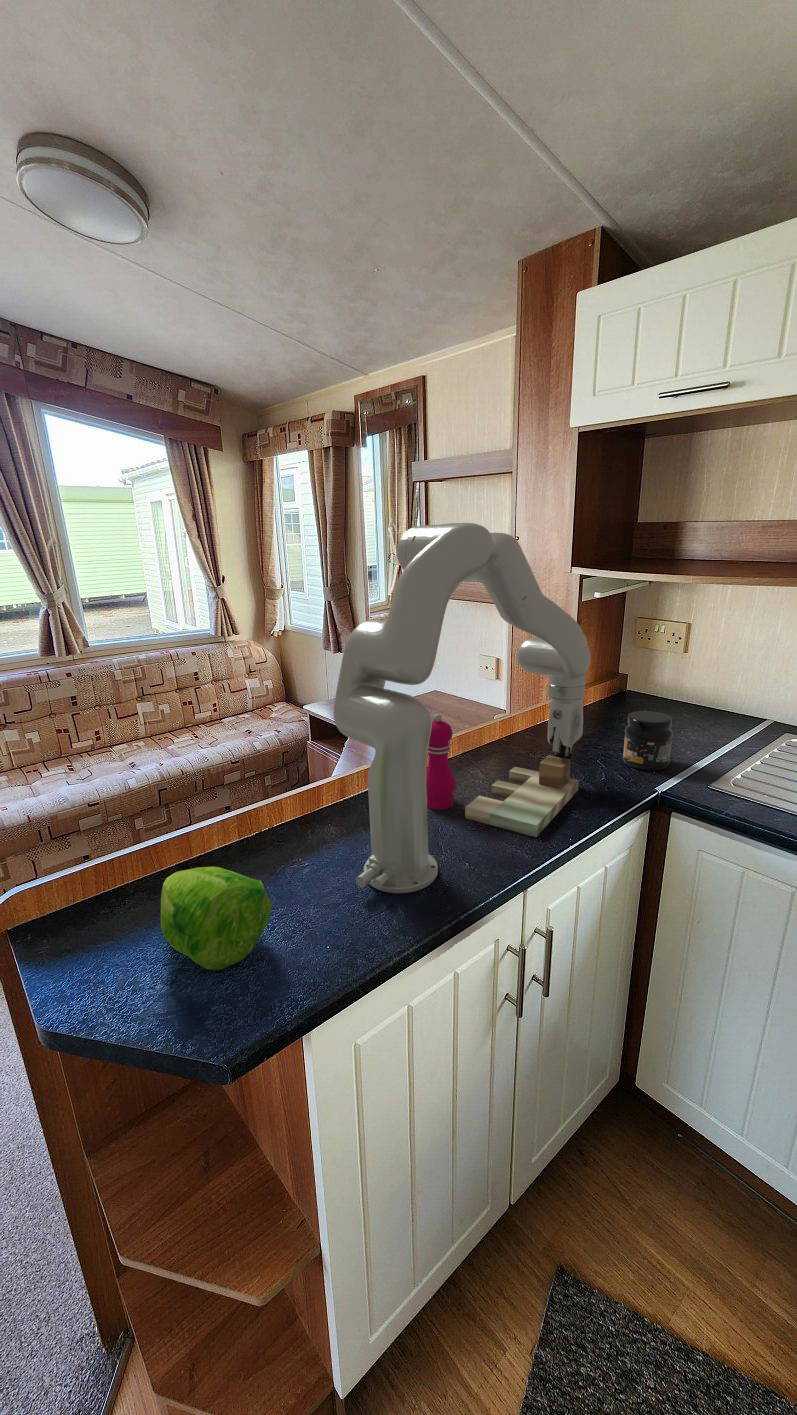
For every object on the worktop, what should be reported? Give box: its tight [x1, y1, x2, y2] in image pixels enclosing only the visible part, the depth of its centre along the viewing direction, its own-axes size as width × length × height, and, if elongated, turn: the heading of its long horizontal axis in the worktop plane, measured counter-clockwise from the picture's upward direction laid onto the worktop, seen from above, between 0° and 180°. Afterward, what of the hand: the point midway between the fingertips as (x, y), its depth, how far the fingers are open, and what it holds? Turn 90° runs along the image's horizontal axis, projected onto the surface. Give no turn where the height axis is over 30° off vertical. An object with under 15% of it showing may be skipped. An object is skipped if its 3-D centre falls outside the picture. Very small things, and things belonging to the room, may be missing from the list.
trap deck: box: [464, 766, 579, 838], centre depth 120 cm, size 24×15×2 cm, turn 145°
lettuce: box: [160, 866, 274, 971], centre depth 80 cm, size 14×20×12 cm
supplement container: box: [622, 710, 674, 772], centre depth 137 cm, size 10×10×12 cm
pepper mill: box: [426, 713, 457, 811], centre depth 119 cm, size 7×7×20 cm
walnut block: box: [538, 754, 572, 789], centre depth 123 cm, size 5×5×5 cm
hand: (562, 770), depth 128 cm, fingers closed
